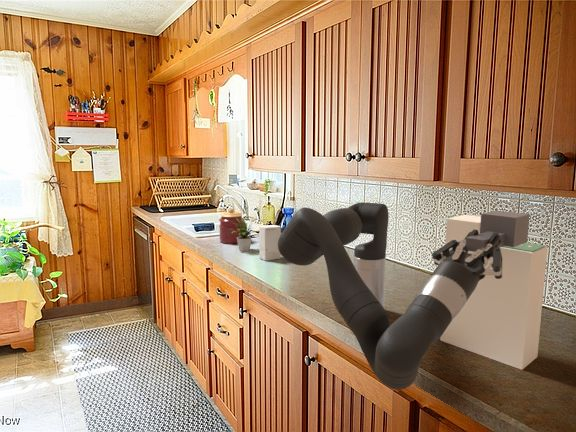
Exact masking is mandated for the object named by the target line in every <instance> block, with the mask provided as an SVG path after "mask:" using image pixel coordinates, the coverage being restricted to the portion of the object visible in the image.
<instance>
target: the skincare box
mask: <svg viewBox="0 0 576 432" xmlns="http://www.w3.org/2000/svg"><path fill="white" fill-rule="evenodd" d="M258 229H259V231H258V232H259V239H258V240H259V241H258V243H259V249H258V250H259V252H258V253H259V259H261V260H263V261H265V262H267V261H273V260H279V259H281V258H282V255H281V254H280V252H279V249H278V240H279V237H280V235H281V233H282V228H281V226H280V225H276V224H270V225H269V224H268V225H260V226H259V228H258Z"/></svg>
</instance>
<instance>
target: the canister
mask: <svg viewBox="0 0 576 432" xmlns="http://www.w3.org/2000/svg"><path fill="white" fill-rule="evenodd" d="M242 216H243V214H242V213H240V212H239V211H235V210H234V208H229V209H228V211H225V212H222V214H220V217H221V218H219V219H218V221H219V227H218V228H219V243H223V244H228V245H229V244H234V245H235V244H238V241H237V237H240V236H241V235H239V233H240V232H239V230H237V229H239V227H238V226H237V225H236V224H238V225H239V222H238V220H239V221H240V223H241V219H243V220H244V221H245V219H244V218H243V217H242ZM236 218H237V219H238V220H237V219H236ZM232 221H233V222H232ZM234 222H235V223H234ZM233 223H234V224H233ZM241 226H242V225H241ZM237 227H238V228H237ZM233 230H234V231H238V232H233ZM232 232H233V233H232Z"/></svg>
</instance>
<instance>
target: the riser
mask: <svg viewBox="0 0 576 432" xmlns="http://www.w3.org/2000/svg"><path fill="white" fill-rule="evenodd" d="M480 224H481V215H479V216H478V215H470V214H462V215H458V216H453V217H449V218H446V228H445V229H446V230H445V243H444V245H446V244H447V243H449V242H450V241H452V240H456V241H457V242H460V241H461V240H463V239H465V237H466V236H467V235H468V233H469V232H471V231H473V230H474V229H475V230H478V233H479V234H480ZM451 249H452V248H450V249H449V251H450V250H451ZM500 249H501V254H502V278H500V279H496V278H495V276H494V275H490V276H485V277H484V278H483V279H481V280H480V281H479V282H478V284H477V286H476V288H475V290H474V291H473V293H472V294H471V296H470V297H469V299H468V300H467V302H466V303H465V305H464V307H463V308H462V309H461V311H460V312H459V313H458V315H457V316H456V317H455V318H454V319H453V320H452V321H451V323H450V324H449V326H448V327H447V329H446V330H445V332H444V333H443V334H442V336H441V337H440V338H439V340H440V341H441V342H444V343H446V344H449V345H452V346H455V347H457V348H461V349H463V350H466V351H468V352H471V353H474V354H477V355H479V356H482V357H486V358H488V359H490V360H494V361H497V362H499V363H501V364H505V365H507V366H510V367H513V368H516V369H519V370H521V371H522V370H524V369H525V368H526V367H527V366H528V365H529V364H531V363H533V361H534V360H535V359H536V360H537V358H538V356H539V355H538V353H539V342H540V330H541V320H542V310H543V299H544V288H545V280H546V266H547V257H548V256H547V255H548V245H547V246H546V245H544V244H538V243H531V242H527V243H524V244H521V245H518V246H516V247H509V246H503V247H500ZM468 253H469V254H473V253H474V252H473V251H469V252H468ZM491 262H492V263H493V257H492V258H491V259H490V260H489V261H488V264H487V265H486V266H485V267H484V268H488V267H489V265H490V263H491Z"/></svg>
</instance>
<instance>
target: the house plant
mask: <svg viewBox="0 0 576 432" xmlns="http://www.w3.org/2000/svg"><path fill="white" fill-rule="evenodd" d="M236 219H237V218H236ZM243 219H244V218H243ZM243 219H241V223H240V221H239V220H238V219H237V220H238V222H239V225H238V224H236V225H237V226H238V227H239V229H237V230H239V232H240V233H239V235H241V236H240V237H237V241H238V243H237V246H238V250H239V252H249V251H250V250H251V242H252V236H251V235H250V234H253V233H254V229H252V226H253V224H254V223H255V222H254V223H253V221H254V220H252V222H251V223H250V224H249V226H248V223H247V222H246V220H245V219H244V220H243ZM232 222H233V221H232ZM234 223H235V222H234ZM234 223H233V224H234ZM241 225H242V226H241ZM238 227H237V228H238ZM233 232H238V231H234V230H233ZM233 232H232V233H233Z"/></svg>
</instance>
